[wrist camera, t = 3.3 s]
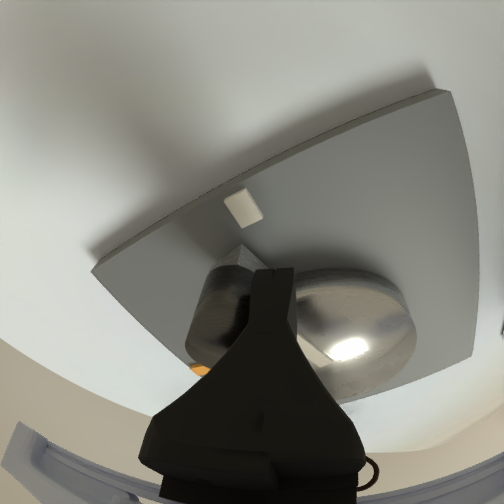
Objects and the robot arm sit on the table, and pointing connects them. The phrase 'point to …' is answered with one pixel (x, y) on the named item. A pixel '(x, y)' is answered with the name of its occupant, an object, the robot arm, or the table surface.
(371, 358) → the dial
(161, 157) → the table surface
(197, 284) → the panel
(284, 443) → the robot arm
